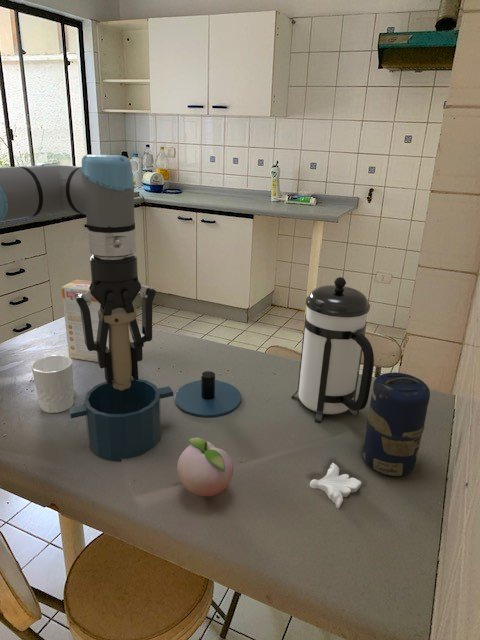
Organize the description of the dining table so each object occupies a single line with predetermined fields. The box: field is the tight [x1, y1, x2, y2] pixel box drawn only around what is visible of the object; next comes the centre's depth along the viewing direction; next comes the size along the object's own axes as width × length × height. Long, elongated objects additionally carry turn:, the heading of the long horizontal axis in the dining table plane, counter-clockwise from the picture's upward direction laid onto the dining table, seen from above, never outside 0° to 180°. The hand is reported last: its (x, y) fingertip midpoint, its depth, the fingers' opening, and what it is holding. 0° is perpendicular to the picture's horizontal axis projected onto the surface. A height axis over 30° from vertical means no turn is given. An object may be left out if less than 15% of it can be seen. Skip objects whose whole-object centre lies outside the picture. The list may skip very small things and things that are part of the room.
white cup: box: [31, 354, 75, 414], centre depth 98 cm, size 8×8×10 cm
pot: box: [68, 377, 174, 462], centre depth 88 cm, size 14×19×10 cm
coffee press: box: [291, 276, 375, 424], centre depth 96 cm, size 17×16×30 cm
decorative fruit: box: [176, 437, 235, 497], centre depth 75 cm, size 9×8×10 cm
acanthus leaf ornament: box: [309, 462, 362, 510], centre depth 79 cm, size 8×7×2 cm
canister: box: [362, 372, 431, 477], centre depth 83 cm, size 10×10×18 cm
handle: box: [98, 306, 138, 390], centre depth 83 cm, size 5×6×15 cm
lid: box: [174, 370, 242, 418], centre depth 102 cm, size 15×15×7 cm
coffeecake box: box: [61, 279, 133, 363], centre depth 118 cm, size 15×7×20 cm, turn 77°
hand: (121, 378), depth 85 cm, fingers closed on handle, 4 cm apart
